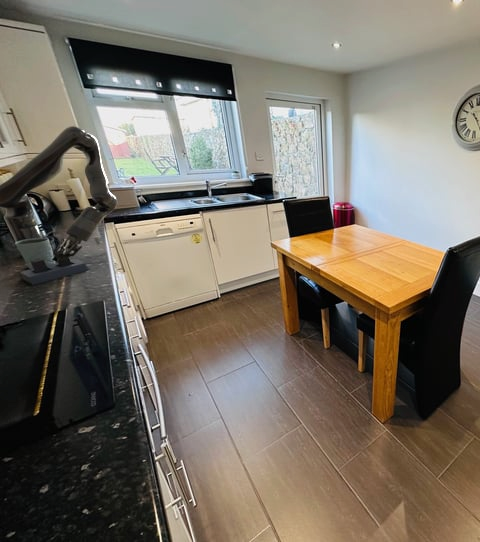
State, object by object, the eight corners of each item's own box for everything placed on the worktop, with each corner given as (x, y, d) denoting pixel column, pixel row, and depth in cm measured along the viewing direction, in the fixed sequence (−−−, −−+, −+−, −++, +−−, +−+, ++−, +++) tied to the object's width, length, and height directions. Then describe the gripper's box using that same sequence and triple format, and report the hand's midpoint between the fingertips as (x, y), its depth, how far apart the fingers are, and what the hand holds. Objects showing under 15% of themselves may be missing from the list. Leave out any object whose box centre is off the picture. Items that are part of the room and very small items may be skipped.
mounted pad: (38, 278, 118) (29, 260, 115) (48, 275, 120) (39, 258, 117) (42, 280, 116) (33, 262, 113) (52, 277, 119) (43, 260, 116)
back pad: (60, 269, 124) (53, 252, 120) (69, 267, 126) (62, 250, 123) (64, 271, 122) (57, 254, 119) (73, 268, 124) (66, 252, 121)
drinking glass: (21, 268, 127) (8, 242, 122) (48, 260, 136) (38, 236, 131) (37, 270, 124) (25, 245, 120) (64, 262, 133) (54, 238, 129)
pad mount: (23, 279, 116) (19, 271, 115) (77, 265, 131) (74, 258, 129) (33, 285, 112) (29, 277, 111) (88, 270, 127) (85, 262, 125)
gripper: (100, 235, 126) (75, 269, 121) (84, 230, 132) (60, 262, 127) (80, 226, 120) (53, 261, 115) (65, 221, 126) (39, 255, 120)
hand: (57, 262), depth 121 cm, fingers closed on back pad, 4 cm apart
